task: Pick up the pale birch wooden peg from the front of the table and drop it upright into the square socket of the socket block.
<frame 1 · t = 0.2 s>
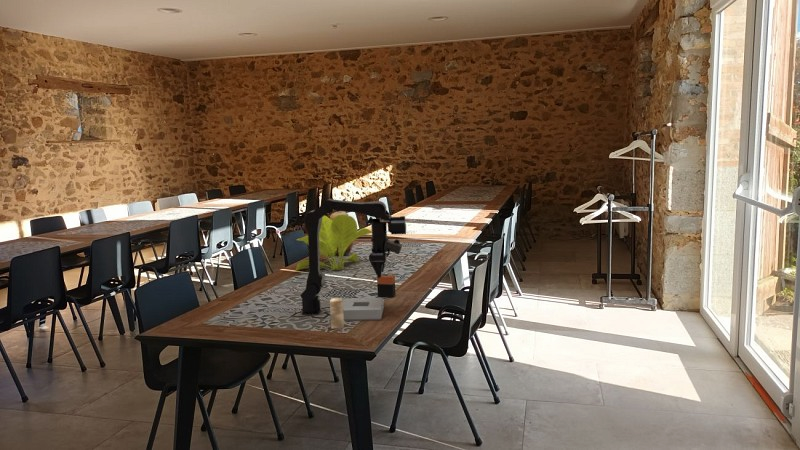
hand: (380, 274, 238), 14 cm above the table, fingers open, 9 cm apart
socket block: (361, 314, 237), on the table
peg: (337, 326, 222), on the table
battery: (386, 296, 262), on the table
artificial plant: (334, 268, 322), on the table
butternut squash: (341, 255, 356), on the table
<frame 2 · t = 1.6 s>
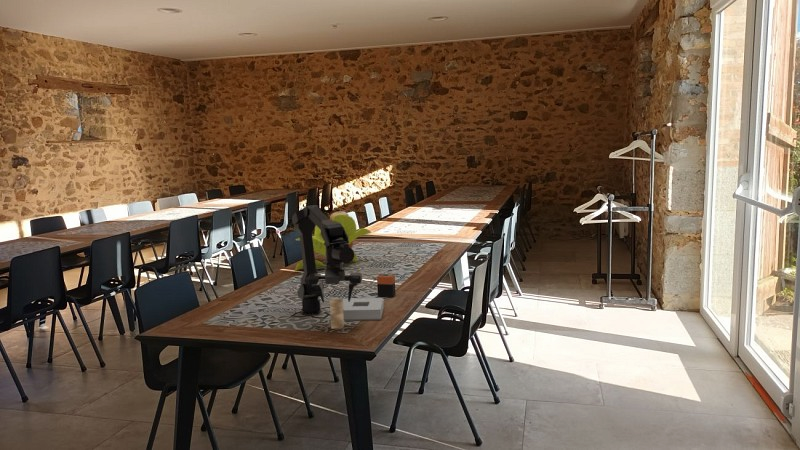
hand: (336, 302, 221), 9 cm above the table, fingers open, 9 cm apart
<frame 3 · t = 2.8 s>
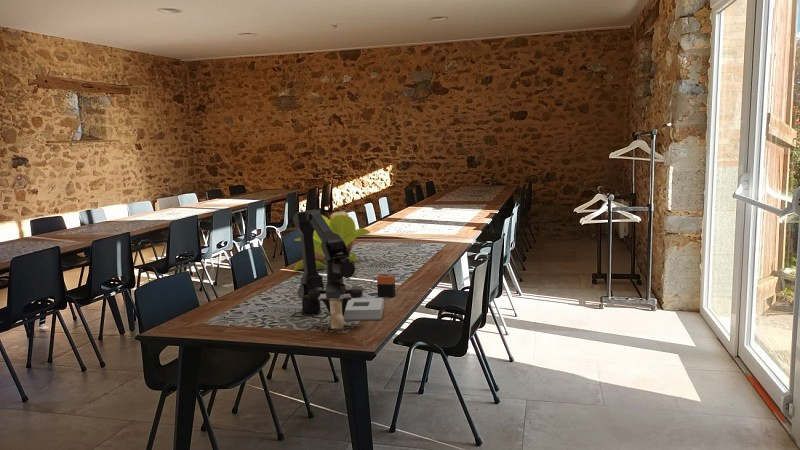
hand: (337, 315, 222), 4 cm above the table, fingers closed on peg, 4 cm apart
peg: (337, 326, 222), on the table, touching gripper
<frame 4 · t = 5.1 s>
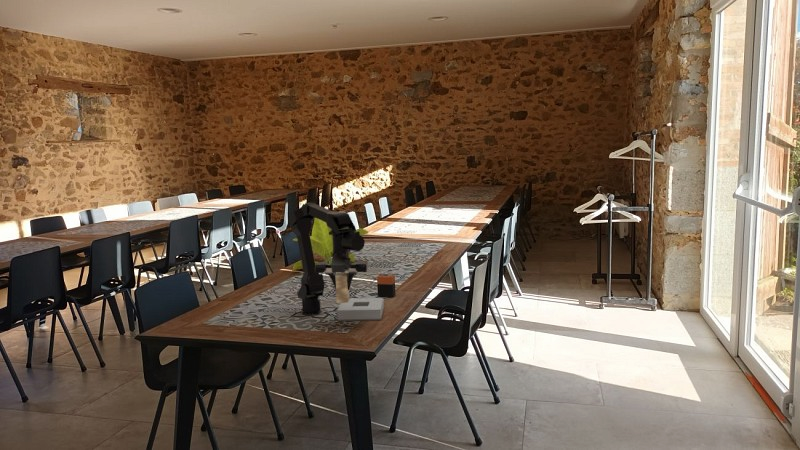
hand: (342, 290, 224), 12 cm above the table, fingers closed on peg, 4 cm apart
peg: (343, 301, 225), point 8 cm above the table, touching gripper
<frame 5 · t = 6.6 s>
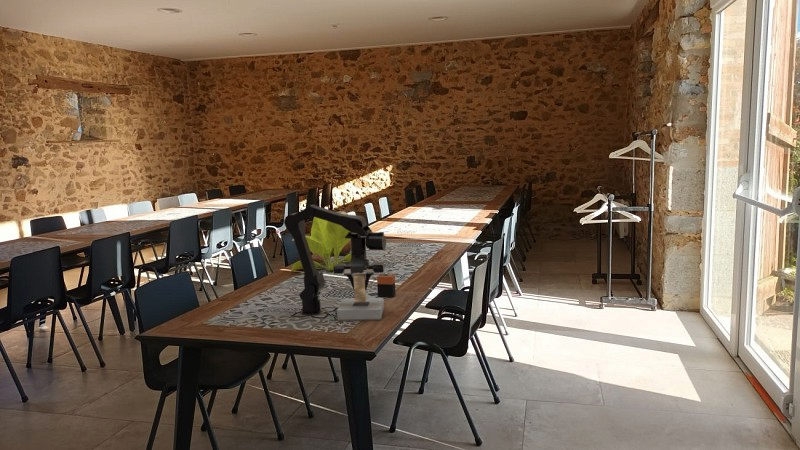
hand: (360, 290, 235), 9 cm above the table, fingers closed on peg, 4 cm apart
peg: (360, 300, 236), point 5 cm above the table, touching gripper
when the fingers open (5 cm above the table, at t = 7.7 s): peg stays where it is, resting on socket block.
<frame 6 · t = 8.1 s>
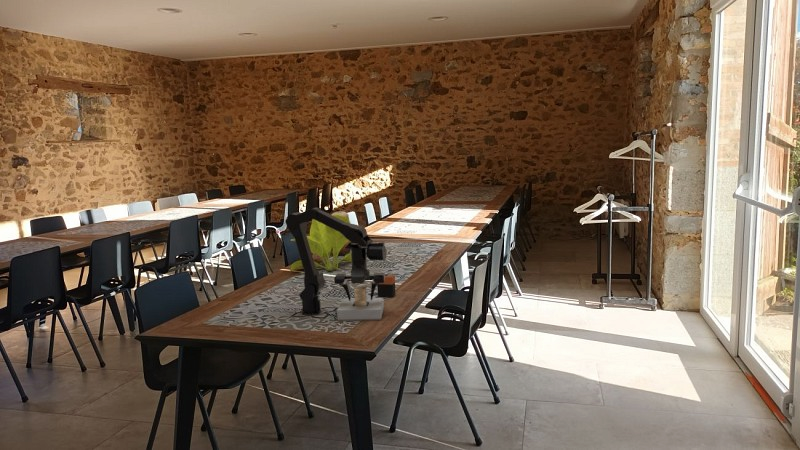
hand: (360, 300, 236), 5 cm above the table, fingers open, 8 cm apart
peg: (361, 312, 237), resting on socket block
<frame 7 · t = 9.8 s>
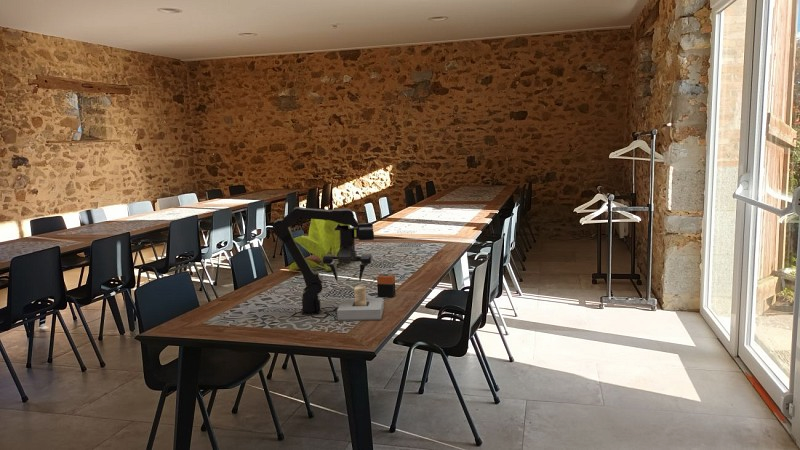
hand: (348, 280, 241), 12 cm above the table, fingers open, 9 cm apart
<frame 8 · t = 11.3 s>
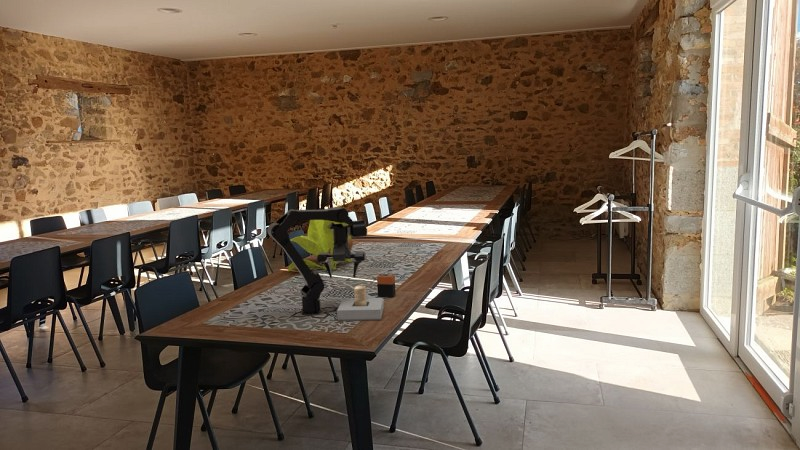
hand: (342, 278, 245), 12 cm above the table, fingers open, 9 cm apart
at the end: peg 0.0 cm off-centre on the socket block, point 0.5 cm above the socket block's base; peg tilted 0°; the gripper is holding nothing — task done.
